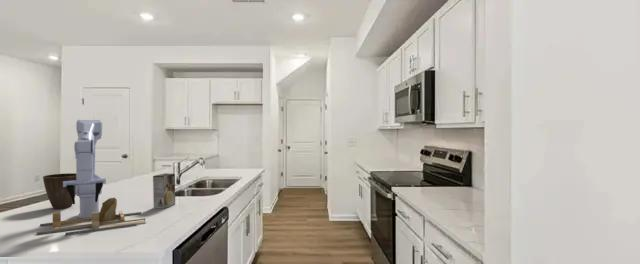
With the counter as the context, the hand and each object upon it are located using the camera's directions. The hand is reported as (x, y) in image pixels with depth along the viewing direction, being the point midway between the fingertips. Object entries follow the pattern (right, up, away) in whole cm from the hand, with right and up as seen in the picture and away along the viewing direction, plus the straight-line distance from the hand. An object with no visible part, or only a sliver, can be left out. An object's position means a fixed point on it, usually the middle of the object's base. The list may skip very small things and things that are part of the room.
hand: (85, 202), depth 147 cm
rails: (+3, -9, +1) cm, 10 cm away
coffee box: (+17, -9, +35) cm, 40 cm away
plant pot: (-32, -9, +31) cm, 46 cm away
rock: (+4, -10, +6) cm, 12 cm away
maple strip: (+14, -10, +1) cm, 17 cm away
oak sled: (0, -9, +3) cm, 10 cm away
